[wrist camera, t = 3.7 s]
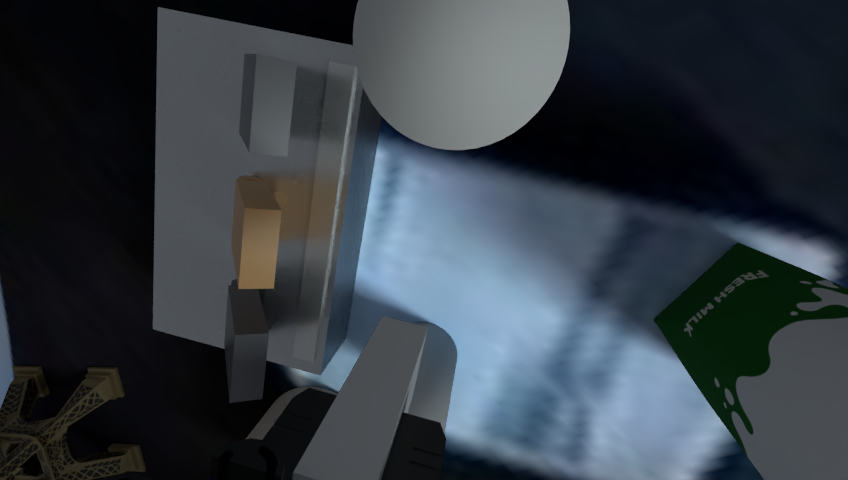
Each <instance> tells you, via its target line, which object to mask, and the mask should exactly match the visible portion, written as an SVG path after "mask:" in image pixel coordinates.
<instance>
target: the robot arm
mask: <svg viewBox="0 0 848 480" xmlns="http://www.w3.org/2000/svg"><path fill="white" fill-rule="evenodd" d="M427 330H428V327H425V326H421V325H417V324H413V323H409V322H405V321H401V320H397V319H394V318H390V317H386V316H382V318H381V320H380V321H379V323H378V325H377V327H376V328H375V330H374V332H373V334H372V335H371V337H370V339H369V341H368V342H367V344H366V346H365V348H364V349H363V351H362V353H361V355H360V356H359V358H358V360H357V362H356V363H355V365H354V367H353V369H352V370H351V372H350V374H349V376H348V377H347V379H346V381H345V383H344V384H343V386H342V388H341V390H340V391H339V393H338V395H334V394H330V393H327V392H323V391H319V390H316V389H312V388H307V389H306V390H304V391H303V392H301V393H299V394H298V395H296V396H294V397H293V398H292V399H291V401H290V402H289V403H288V405H287V406H286V408H285V409H284V410H283V412H282V415H281V414H280V416H279V417H278V419H277V420H276V421H275V423H274V425H273V426H272V427H271V428H270V430H269V431H268V432H267V434H266V435H265V437H264V438H263V439H262V440H260V439H253V438H250V439H243V440H237V441H234V442H232V443H230V444H227V445H225V446H223V447H222V448H221V449H219V450H218V451H217V452H216V453H215V454H214V455H212V464H211V479H210V480H440V474H441V467H442V461H443V455H444V449H445V442H446V438H445V435H444V432H443V429H442V426H441V423H440V422H436V421H433V420H429V419H426V418H422V417H418V416H415V415H411V414H408V411H409V407H410V404H411V401H412V397H413V393H414V388H415V384H416V379H417V375H418V370H419V366H420V361H421V357H422V352H423V348H424V343H425V339H426V334H427ZM101 480H152V479H151V478H150V477H147V476H145V475H142V474H139V473H121V474H117V475H113V476H109V477H105V478H103V479H101Z"/></svg>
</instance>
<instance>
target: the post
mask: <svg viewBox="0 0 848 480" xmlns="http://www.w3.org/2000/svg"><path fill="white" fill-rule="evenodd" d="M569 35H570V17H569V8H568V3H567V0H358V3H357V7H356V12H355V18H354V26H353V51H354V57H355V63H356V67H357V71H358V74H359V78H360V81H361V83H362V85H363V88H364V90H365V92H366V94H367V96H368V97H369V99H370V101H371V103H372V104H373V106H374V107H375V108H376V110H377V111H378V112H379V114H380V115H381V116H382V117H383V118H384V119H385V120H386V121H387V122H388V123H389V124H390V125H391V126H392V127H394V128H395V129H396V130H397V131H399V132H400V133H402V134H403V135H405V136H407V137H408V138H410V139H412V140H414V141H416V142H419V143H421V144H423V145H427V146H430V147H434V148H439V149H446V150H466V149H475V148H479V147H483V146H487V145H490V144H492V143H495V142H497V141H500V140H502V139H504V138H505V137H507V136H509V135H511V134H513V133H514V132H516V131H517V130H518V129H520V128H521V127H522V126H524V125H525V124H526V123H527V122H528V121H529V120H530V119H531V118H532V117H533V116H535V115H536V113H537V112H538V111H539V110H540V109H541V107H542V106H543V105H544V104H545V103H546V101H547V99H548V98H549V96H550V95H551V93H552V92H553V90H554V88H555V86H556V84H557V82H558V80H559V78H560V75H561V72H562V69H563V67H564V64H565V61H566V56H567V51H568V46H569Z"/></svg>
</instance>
